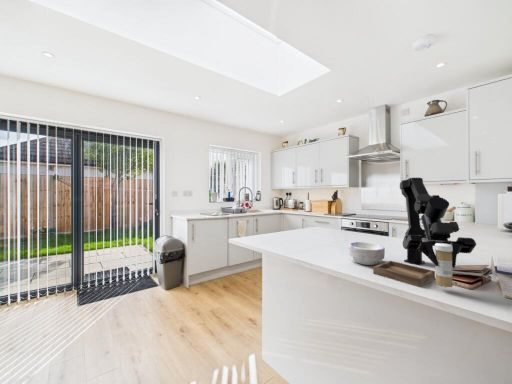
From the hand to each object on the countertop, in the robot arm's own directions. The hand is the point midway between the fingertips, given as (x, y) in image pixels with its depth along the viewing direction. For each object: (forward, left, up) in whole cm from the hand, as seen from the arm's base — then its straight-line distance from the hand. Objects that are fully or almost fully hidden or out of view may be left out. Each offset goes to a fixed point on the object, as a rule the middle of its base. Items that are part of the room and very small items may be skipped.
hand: (445, 266), depth 76 cm
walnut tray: (-5, -15, -9) cm, 18 cm away
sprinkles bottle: (-1, -1, -7) cm, 7 cm away
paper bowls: (-10, -33, -9) cm, 35 cm away
